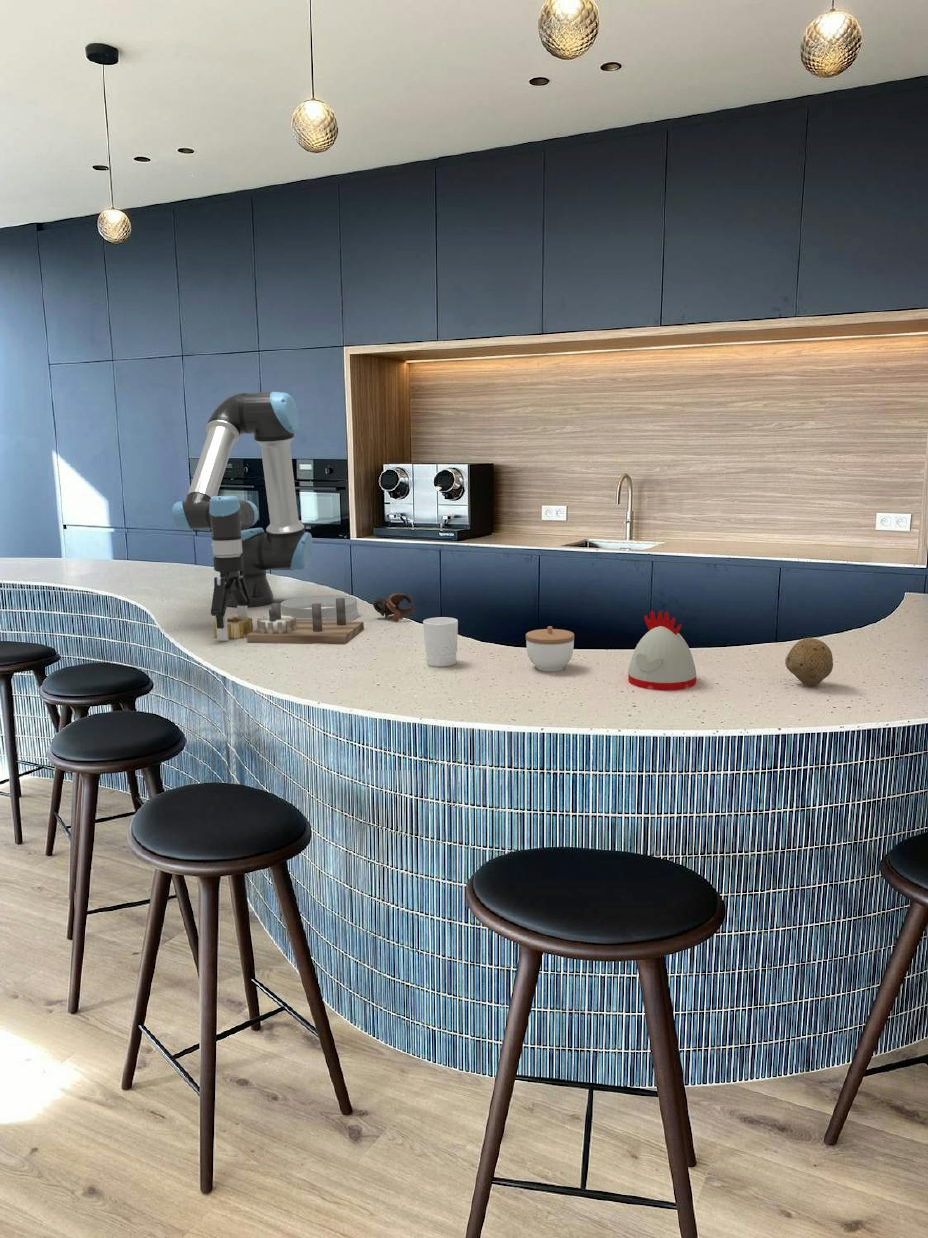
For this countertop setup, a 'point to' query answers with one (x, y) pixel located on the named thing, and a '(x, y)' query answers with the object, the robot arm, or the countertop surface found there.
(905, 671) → the countertop surface
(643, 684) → the kitchen timer
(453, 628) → the white cup
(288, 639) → the gear board
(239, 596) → the robot arm
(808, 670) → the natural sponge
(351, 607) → the dish
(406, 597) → the brown curved piece
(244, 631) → the brass gear
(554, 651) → the lidded jar
